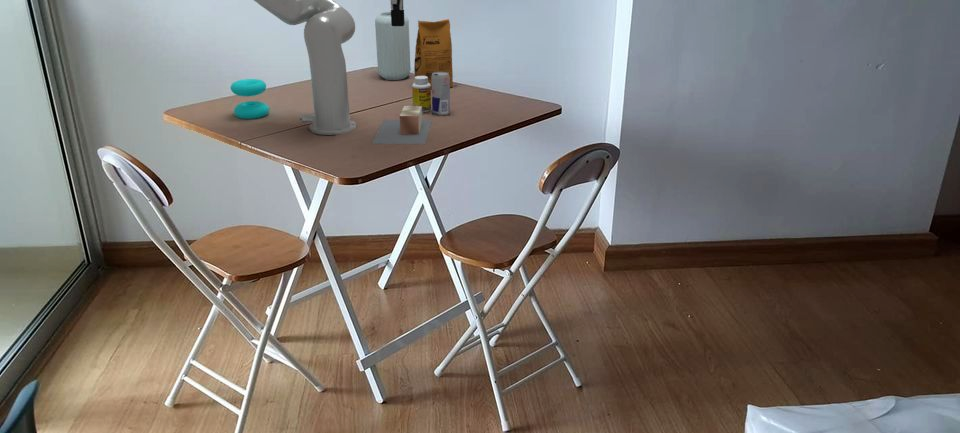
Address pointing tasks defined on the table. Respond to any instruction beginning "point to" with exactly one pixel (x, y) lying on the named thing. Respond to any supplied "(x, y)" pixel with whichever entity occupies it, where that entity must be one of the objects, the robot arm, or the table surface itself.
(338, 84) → the robot arm
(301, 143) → the table surface
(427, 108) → the supplement bottle
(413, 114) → the birch block
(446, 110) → the energy drink
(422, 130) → the rubber mat
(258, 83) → the donuts
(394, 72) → the vase
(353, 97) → the table surface
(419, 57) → the coffee package
